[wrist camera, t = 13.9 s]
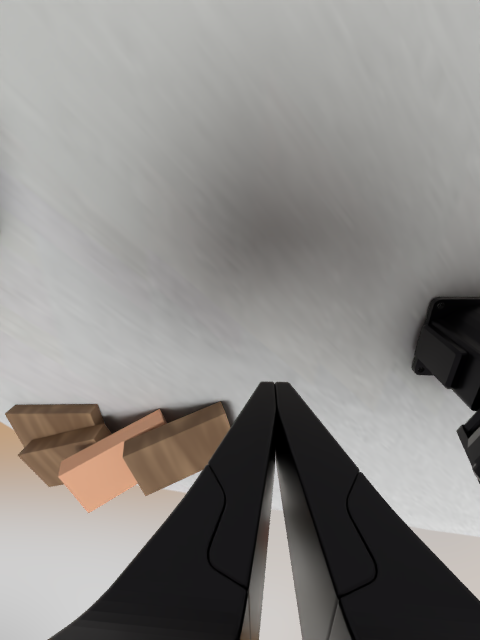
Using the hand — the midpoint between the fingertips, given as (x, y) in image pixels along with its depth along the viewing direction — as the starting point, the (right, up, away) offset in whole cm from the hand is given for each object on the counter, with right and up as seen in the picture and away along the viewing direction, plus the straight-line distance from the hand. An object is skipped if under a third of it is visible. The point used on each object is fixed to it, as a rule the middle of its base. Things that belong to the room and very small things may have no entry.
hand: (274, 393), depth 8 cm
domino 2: (-13, -10, +18) cm, 25 cm away
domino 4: (-2, -8, +17) cm, 19 cm away
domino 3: (-8, -9, +18) cm, 22 cm away
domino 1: (-15, -9, +19) cm, 26 cm away
